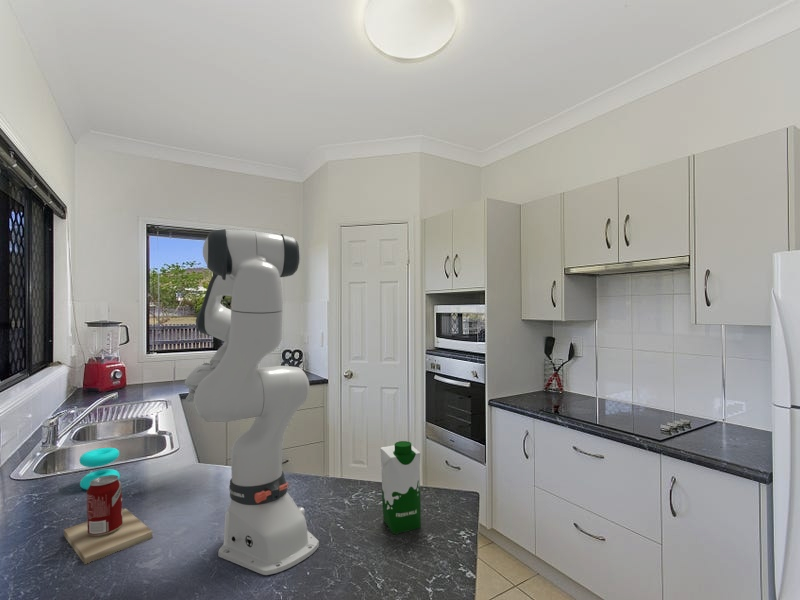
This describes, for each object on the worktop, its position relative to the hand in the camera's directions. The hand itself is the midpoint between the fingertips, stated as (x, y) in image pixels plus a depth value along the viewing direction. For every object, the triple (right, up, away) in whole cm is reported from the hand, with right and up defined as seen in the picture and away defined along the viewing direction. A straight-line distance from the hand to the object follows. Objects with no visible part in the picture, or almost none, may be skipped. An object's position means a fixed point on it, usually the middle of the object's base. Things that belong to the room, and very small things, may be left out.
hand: (199, 402), depth 125 cm
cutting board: (-10, -26, -25) cm, 37 cm away
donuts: (-33, -27, +5) cm, 43 cm away
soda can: (-11, -24, -25) cm, 36 cm away
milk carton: (+59, -24, -22) cm, 68 cm away
